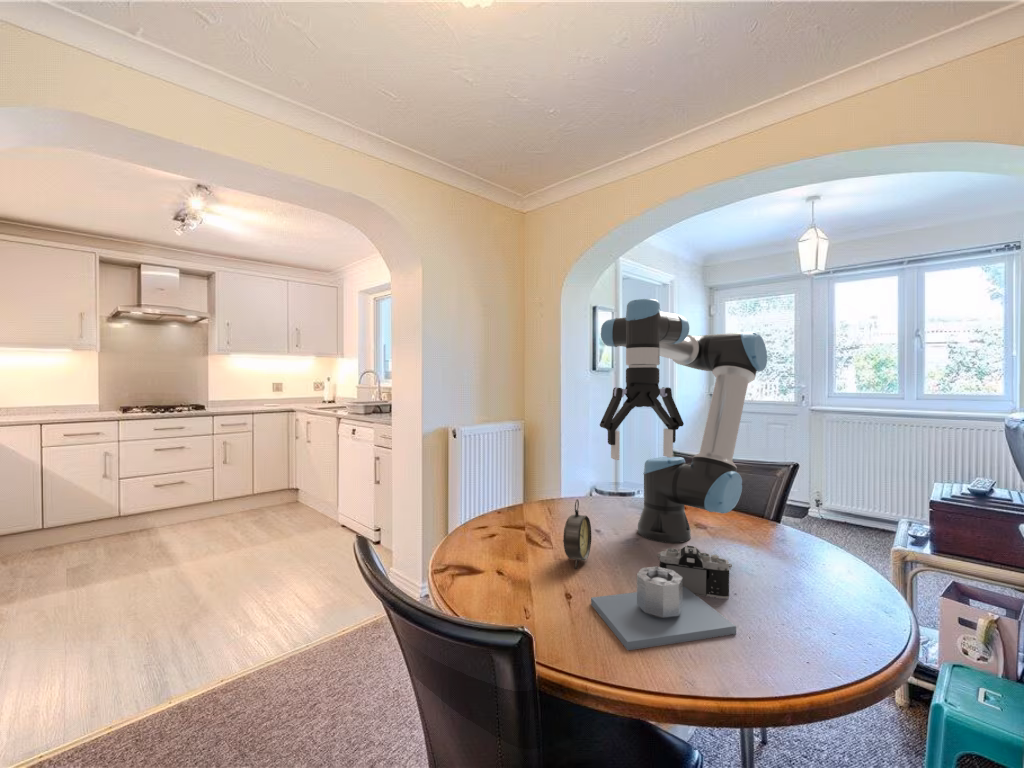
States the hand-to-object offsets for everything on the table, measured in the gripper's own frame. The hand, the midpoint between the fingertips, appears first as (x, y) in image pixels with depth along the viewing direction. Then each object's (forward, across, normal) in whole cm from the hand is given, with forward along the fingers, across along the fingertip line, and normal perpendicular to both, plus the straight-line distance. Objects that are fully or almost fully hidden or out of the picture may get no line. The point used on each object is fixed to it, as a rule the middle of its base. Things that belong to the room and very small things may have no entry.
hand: (641, 457), depth 104 cm
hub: (+26, +5, +16) cm, 31 cm away
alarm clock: (+29, +11, -13) cm, 34 cm away
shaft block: (+29, +5, +16) cm, 33 cm away
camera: (+29, -10, +6) cm, 31 cm away
